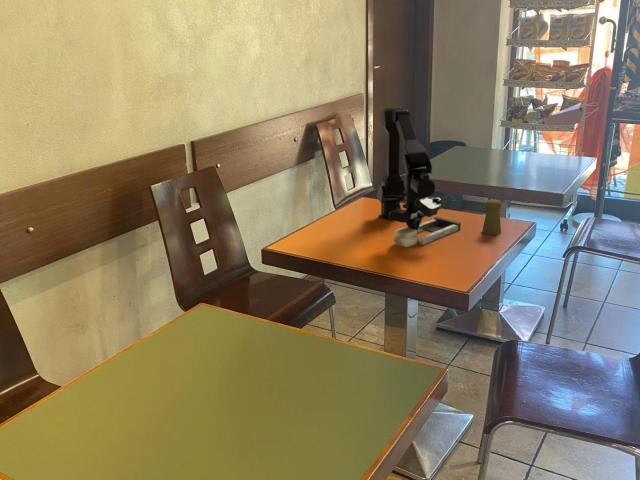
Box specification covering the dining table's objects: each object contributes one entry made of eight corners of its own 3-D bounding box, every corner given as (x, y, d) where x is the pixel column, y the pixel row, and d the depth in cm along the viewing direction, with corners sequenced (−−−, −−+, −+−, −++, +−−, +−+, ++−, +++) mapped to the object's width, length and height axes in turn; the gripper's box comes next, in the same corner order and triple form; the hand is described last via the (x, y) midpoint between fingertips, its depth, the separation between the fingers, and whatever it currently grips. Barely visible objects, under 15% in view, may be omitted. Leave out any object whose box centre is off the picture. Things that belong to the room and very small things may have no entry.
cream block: (394, 243, 200) (394, 230, 198) (404, 239, 203) (404, 226, 201) (406, 247, 196) (406, 234, 195) (416, 243, 199) (416, 230, 198)
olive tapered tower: (501, 235, 204) (503, 203, 200) (482, 234, 205) (484, 202, 201) (500, 229, 209) (502, 197, 206) (481, 228, 211) (483, 197, 207)
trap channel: (399, 237, 205) (399, 230, 204) (436, 223, 217) (436, 216, 217) (423, 244, 198) (423, 237, 197) (460, 229, 210) (460, 222, 210)
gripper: (415, 200, 185) (415, 249, 190) (453, 187, 197) (451, 233, 202) (387, 193, 193) (387, 240, 198) (425, 181, 204) (424, 226, 210)
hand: (414, 235), depth 202 cm, fingers closed
